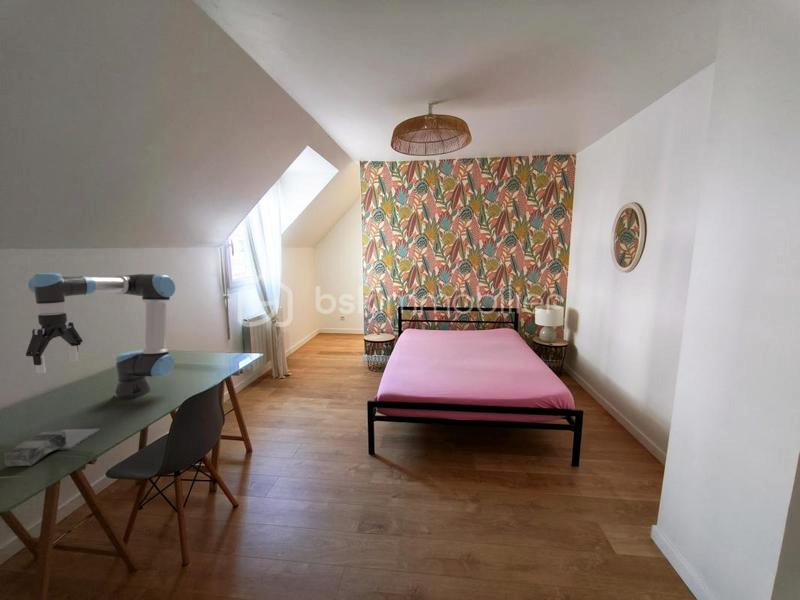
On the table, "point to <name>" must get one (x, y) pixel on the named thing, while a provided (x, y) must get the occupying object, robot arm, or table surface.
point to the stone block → (35, 448)
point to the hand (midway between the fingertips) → (58, 366)
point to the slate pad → (76, 437)
